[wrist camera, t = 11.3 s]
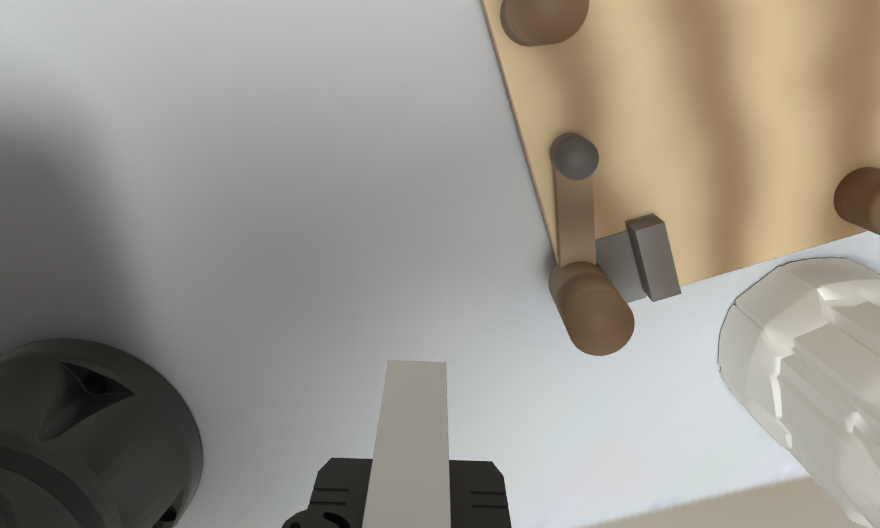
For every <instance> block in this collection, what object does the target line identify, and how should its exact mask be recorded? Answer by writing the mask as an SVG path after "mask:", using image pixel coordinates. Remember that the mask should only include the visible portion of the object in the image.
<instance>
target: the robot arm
mask: <svg viewBox="0 0 880 528" xmlns="http://www.w3.org/2000/svg"><path fill="white" fill-rule="evenodd" d="M201 470H202V448H201V442H200V437H199V434H198V430H197V428H196V425H195V422H194V420H193V418H192V416H191V414H190V412H189V410H188V408H187V407H186V405H185V404H184V402H183V401H182V399H181V398H180V397H179V395H178V394H177V393H176V391H175V390H174V389H173V388H172V387H171V386H170V385H169V384H168V383H167V382H166V381H165V380H164V379H163V378H162V377H161V376H160V375H159V374H157V373H156V372H155V371H153V370H152V369H151V368H149V367H148V366H147V365H145V364H144V363H142V362H140V361H139V360H137V359H135V358H133V357H132V356H130V355H128V354H126V353H123V352H121V351H119V350H116V349H114V348H111V347H108V346H105V345H101V344H97V343H93V342H88V341H81V340H71V339H57V340H46V341H40V342H35V343H31V344H28V345H25V346H22V347H19V348H17V349H15V350H12V351H10V352H9V353H7V354H5V355H3V356H2V357H0V528H174V527H175V526H176V525H177V523H178V522H179V520H180V518H181V517H182V515H183V513H184V512H185V510H186V508H187V506H188V505H189V503H190V501H191V500H192V498H193V496H194V494H195V492H196V489H197V487H198V484H199V480H200V476H201ZM282 528H512V527H511V521H510V515H509V509H508V502H507V496H506V489H505V483H504V477H503V475H502V474H501V472H500V471H499V470H498V469H497V467H496V466H495V465H494V464H493V462H492V461H463V460H449V446H448V412H447V377H446V362H419V361H391V360H389V362H388V368H387V374H386V380H385V387H384V393H383V399H382V405H381V412H380V418H379V424H378V430H377V437H376V443H375V449H374V455H373V459H355V458H331V459H330V460H329V461H328V462H327V463H326V464H325V465H324V466H323V467H322V468H321V469H320V470H319V471H318V474H317V478H316V481H315V484H314V489H313V491H312V495H311V498H310V504H309V505H308V509H307V510H304V511H301V512H299V513H296V514H295V515H293V516H292V517H291V518H289V519H288V520H287V521H285V523H284V525H283V526H282Z"/></svg>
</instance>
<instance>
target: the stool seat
mask: <svg viewBox="0 0 880 528" xmlns="http://www.w3.org/2000/svg"><path fill="white" fill-rule="evenodd" d="M480 2H481V6H482V9H483V13H484V16H485V20H486V23H487V26H488V30H489V33H490V37H491V40H492V44H493V47H494V50H495V54H496V57H497V61H498V64H499V68H500V71H501V75H502V78H503V81H504V85H505V88H506V92H507V95H508V99H509V102H510V105H511V109H512V112H513V116H514V119H515V123H516V126H517V130H518V133H519V136H520V140H521V143H522V147H523V150H524V154H525V157H526V160H527V164H528V167H529V171H530V174H531V178H532V181H533V184H534V188H535V191H536V195H537V198H538V202H539V205H540V209H541V212H542V215H543V219H544V222H545V226H546V229H547V233H548V236H549V239H550V243H551V246H552V250H553V253H554V257H555V260H556V264H558V263H559V262H558V245H557V229H556V212H555V195H554V179H553V163H552V161H551V158H550V150H551V147H552V144H553V143H554V141H555V140H556V139H557V138H558V137H560V136H561V135H564V134H567V133H575V134H578V135H580V136H582V137H583V138H585V139H587V140H588V141H590V142H591V143H593V144H594V145H595V147H596V148H597V150H598V154H599V163H598V166H597V168H596V170H595V171H594V173H593V174H592V175H593V198H594V222H595V246H596V263H597V264H598V265H599V266H600V267H601V269H602V270H603V271H604V273H605V274H606V276H607V277H608V278H609V280H610V281H611V282H612V284H613V285H614V287H615V288H616V289H617V291H618V292H619V294H620V295H621V296H622V298H623V299H624V300H625V302H626V303H629V302H632V301H635V300H639V299H642V298H646V296H648V297H649V298H650V299H651V300H652V301H653V302H655V301H658V300H662V299H665V298H668V297H672V296H675V295H678V294H681V289H680V286H683V285H687V284H690V283H694V282H697V281H700V280H704V279H707V278H710V277H714V276H717V275H721V274H724V273H727V272H731V271H734V270H737V269H741V268H744V267H748V266H751V265H754V264H758V263H761V262H764V261H768V260H771V259H775V258H778V257H781V256H785V255H788V254H791V253H795V252H798V251H802V250H805V249H808V248H812V247H815V246H818V245H822V244H825V243H829V242H832V241H835V240H839V239H842V238H845V237H849V236H852V235H856V234H859V233H862V232H866V231H871V232H874V233H876V234H878V235H880V0H480Z"/></svg>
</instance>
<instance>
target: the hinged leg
mask: <svg viewBox="0 0 880 528" xmlns="http://www.w3.org/2000/svg"><path fill="white" fill-rule="evenodd" d="M550 158H551V161H552V163H553V179H554V195H555V212H556V229H557V245H558V262H559V263H558V264H557V265H556V266H555V267H554V268H553V270H552V272H551V274H550V277H549V290H550V293H551V295H552V297H553V299H554V302H555V304H556V306H557V309H558V311H559V313H560V316H561V318H562V320H563V323H564V325H565V327H566V329H567V332H568V334H569V336H570V339H571V341H572V342H573V344H574V345H575V346H576V347H577V348H578V349H579V350H581V351H582V352H584V353H587V354H590V355H595V356H603V355H608V354H612V353H614V352H616V351H618V350H620V349H621V348H622V347H623V346H624V345H626V343H627V342H628V341H629V339H630V338H631V336H632V334H633V331H634V316H633V313H632V311H631V309H630V307H629V306H628V305H627V303H626V302H625V300H624V299H623V298H622V296H621V295H620V294H619V292H618V291H617V289H616V288H615V287H614V285H613V284H612V282H611V281H610V280H609V278H608V277H607V276H606V274H605V273H604V271H603V270H602V269H601V267H600V266H599V265H598V264H597V263H596V246H595V222H594V198H593V175H592V174H593V173H594V171H595V170H596V168H597V166H598V163H599V154H598V150H597V148H596V147H595V145H594V144H593V143H591V142H590V141H588V140H587V139H585V138H583V137H582V136H580V135H578V134H575V133H567V134H564V135H561V136H560V137H558V138H557V139H556V140H555V141H554V143H553V144H552V147H551V150H550Z"/></svg>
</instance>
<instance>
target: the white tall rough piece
mask: <svg viewBox="0 0 880 528" xmlns="http://www.w3.org/2000/svg"><path fill="white" fill-rule="evenodd" d="M735 304H736V305H732V306H731V308H730V310H729V312H728V314H727V317H726V319H725V322H724V324H723V327H722V329H721V333H720V341H719V357H718V364H719V365H720V366H721V371H720V374H721V376H722V378H723V380H724V381H725V383H726V385H727V386H728V388H729V390H730V392H731V393H732V394H733V395H734V396H735V397H736V399H737V400H738V401H739V402H740V403H741V404H742V406H743V407H744V408H745V409H746V410H747V411H748V413H749V414H750V415H751V416H752V417H753V418H754V420H755V421H756V422H757V423H758V424H759V425H760V426H761V427H762V428H763V429H764V430H765V431H766V432H767V433H768V434H769V435H770V436H771V437H772V438H773V439H774V440H775V441H776V442H777V443H778V444H779V445H780V446H783V447H784V448H785V449H787V450H788V451H789V452H790V453H791V454H792V455H793V456H794V457H795V458H796V459H797V461H798V462H799V463H800V464H801V465H802V466H803V467H804V469H805V470H806V471H807V472H808V473H809V474H810V475H811V476H812V478H813V479H814V480H815V481H816V482H817V483H818V484H819V485H820V487H821V488H822V489H823V490H824V491H825V492H826V493H827V495H828V496H829V497H830V498H831V499H832V500H833V501H834V502H835V503H836V505H837V506H838V507H839V508H840V509H841V510H842V511H843V513H844V514H845V515H846V516H847V517H848V518H849V519H850V520H851V521H853V522H855V523H858V524H860V525H862V526H865V527H867V528H880V274H878V273H876V272H874V271H872V270H870V269H868V268H866V267H864V266H862V265H860V264H858V263H856V262H854V261H852V260H849V259H846V258H822V259H808V260H802V261H797V262H791V263H787V264H786V265H785V266H778V267H777V268H776V269H774V270H773V271H772V272H771V273H769V274H768V275H767V276H765V277H764V278H763V279H761V280H760V281H759V282H757V283H756V284H755V285H754V286H752V287H751V288H750V289H748V290H747V291H746V292H745V293H743V294H742V295H741V296H739V297H738V298H737V299H736V301H735Z"/></svg>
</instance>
